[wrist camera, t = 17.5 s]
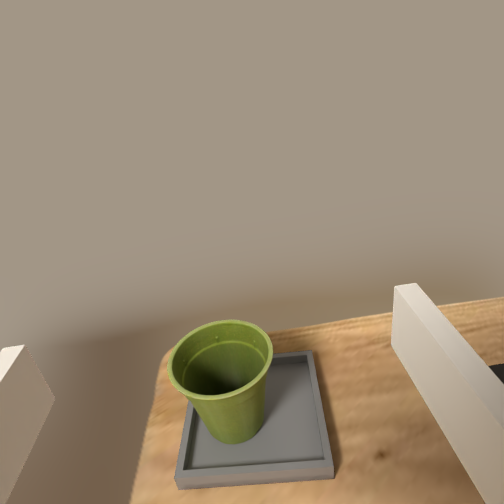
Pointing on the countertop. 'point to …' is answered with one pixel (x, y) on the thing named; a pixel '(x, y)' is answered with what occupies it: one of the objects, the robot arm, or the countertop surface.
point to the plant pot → (224, 376)
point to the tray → (264, 436)
